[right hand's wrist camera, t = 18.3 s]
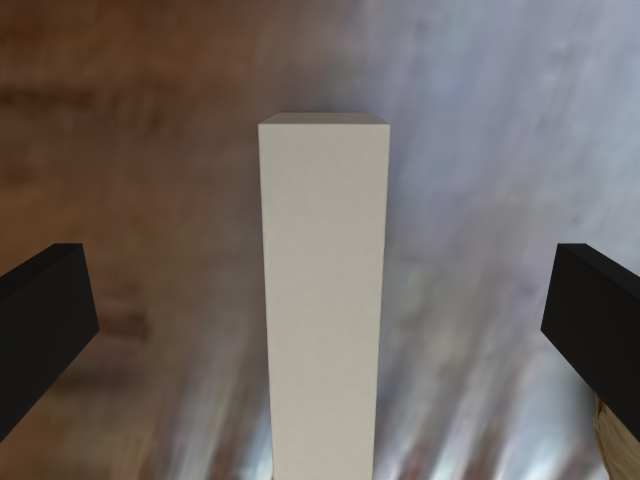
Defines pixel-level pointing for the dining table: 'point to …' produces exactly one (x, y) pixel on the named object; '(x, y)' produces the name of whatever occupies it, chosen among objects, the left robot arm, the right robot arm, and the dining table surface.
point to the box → (323, 288)
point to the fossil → (616, 444)
